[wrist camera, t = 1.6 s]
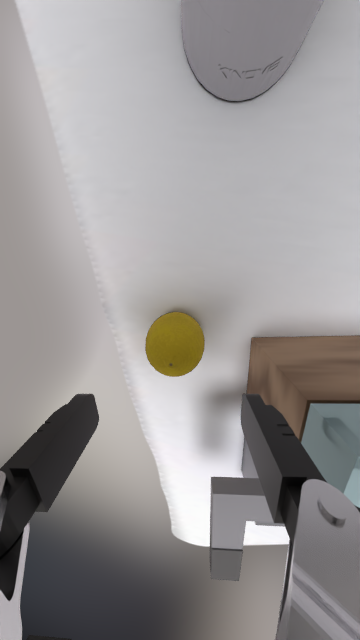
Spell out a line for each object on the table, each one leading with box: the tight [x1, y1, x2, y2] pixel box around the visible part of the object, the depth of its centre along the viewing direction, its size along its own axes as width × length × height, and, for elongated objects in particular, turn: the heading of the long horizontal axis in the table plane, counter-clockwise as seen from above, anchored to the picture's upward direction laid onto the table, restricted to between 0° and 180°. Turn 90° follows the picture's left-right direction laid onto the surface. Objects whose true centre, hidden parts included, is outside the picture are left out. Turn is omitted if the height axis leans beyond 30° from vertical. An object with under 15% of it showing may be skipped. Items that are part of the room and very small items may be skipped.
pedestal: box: [247, 336, 360, 442], centre depth 16 cm, size 10×13×10 cm
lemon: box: [146, 312, 205, 377], centre depth 16 cm, size 6×6×8 cm
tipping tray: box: [210, 403, 360, 581], centre depth 11 cm, size 19×19×3 cm
